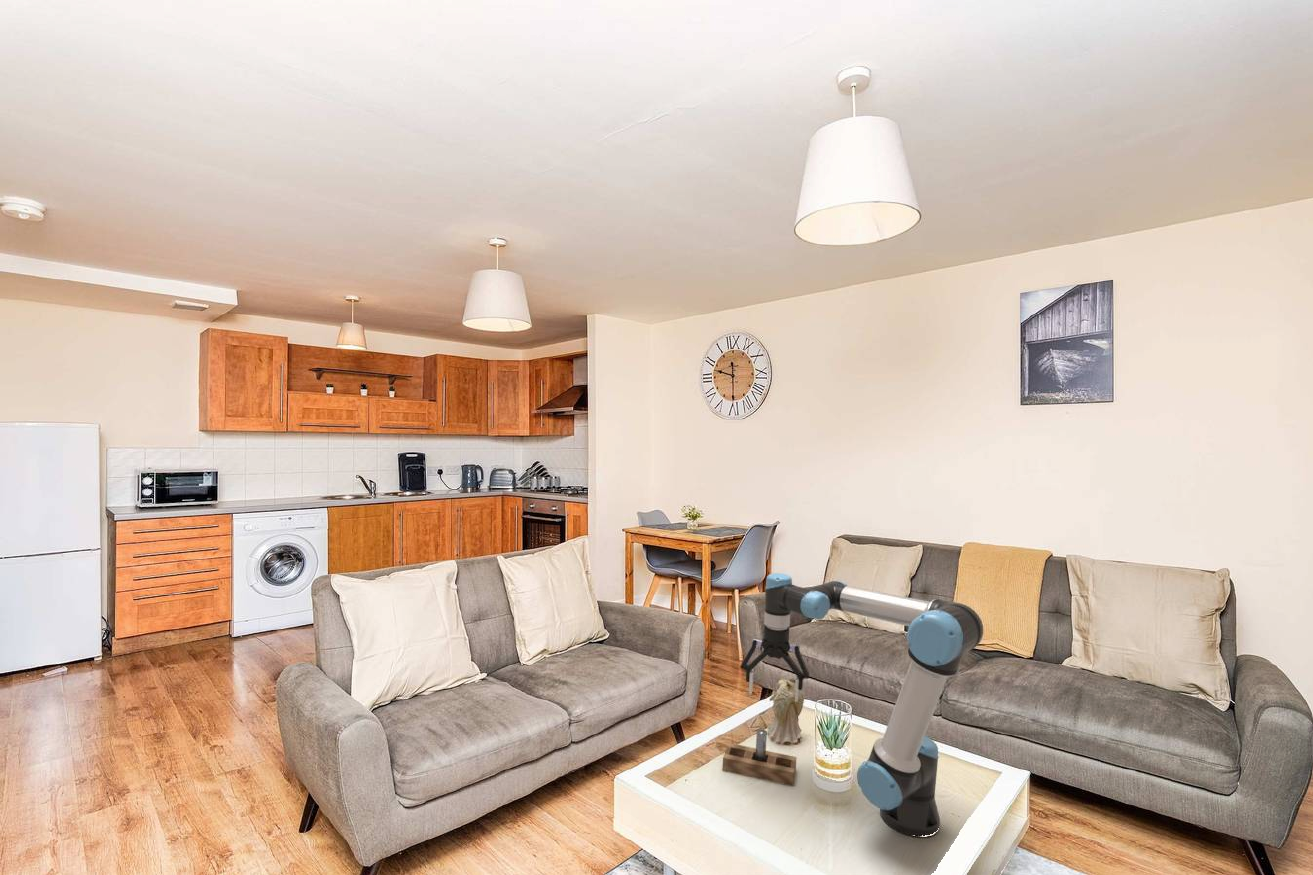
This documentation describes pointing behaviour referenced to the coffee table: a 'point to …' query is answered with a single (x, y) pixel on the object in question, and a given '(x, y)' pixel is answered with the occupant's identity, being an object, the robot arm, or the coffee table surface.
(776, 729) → the figurine
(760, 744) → the peg
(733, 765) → the hole block
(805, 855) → the coffee table surface
